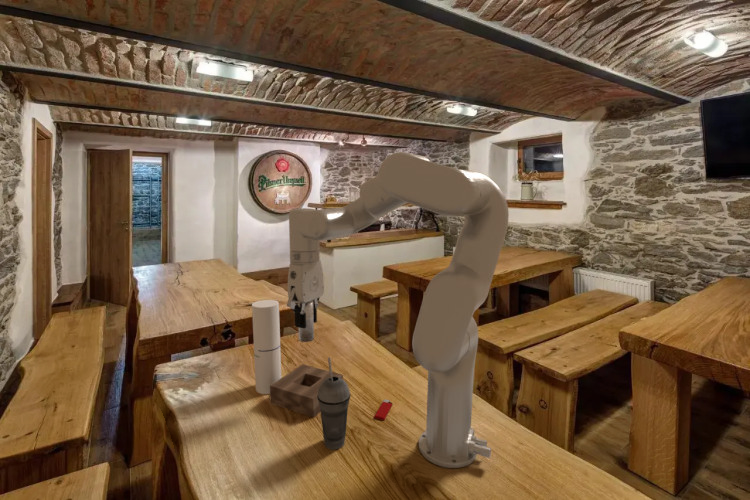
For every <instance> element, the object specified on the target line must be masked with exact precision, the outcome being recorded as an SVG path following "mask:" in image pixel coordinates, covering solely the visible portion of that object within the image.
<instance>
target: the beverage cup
mask: <svg viewBox="0 0 750 500" xmlns="http://www.w3.org/2000/svg"><path fill="white" fill-rule="evenodd" d="M327 361H328V371H329V372H330V377H329V378H327V379H325V380H324V381H323V382H322V384H321V385H320V388H319V390H318V395H317V398H318V401H319V406H320V410H321V412H320V417H321V427H322V436H323V442H324V443H323V444H324V446H325V448H327V449H328V450H334V451H335V450H339V449H341V448H343V447H344V445H345V443H346V442H345V440H346V435H347V433H346V432H347V423H348V422H347V421H348V420H347V419H348V409H349V403H350V398H351V391H350V387H349V385H348V383H347V382H346V381H345V379H344V378H343V379H342V378H340V377H336V376H332V372H333V371H332V361H331V357H327Z"/></svg>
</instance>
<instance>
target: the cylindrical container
mask: <svg viewBox="0 0 750 500" xmlns="http://www.w3.org/2000/svg"><path fill="white" fill-rule="evenodd" d="M251 311H252V312H251V313H252V332H253V333H252V334H253V335H252V336H253V337H252V339H253V353H254V354H253V357H254V358H253V359H254V376H255V377H254V378H255V392H257V393H258V394H260V395H270V385H272V384H273V383H275V382H276V381H278V380H279V379H281V378H282V357H281V333H280V332H281V329H280V327H281V326H280V303H279V301H278V300H274V299H263V300H257V301H254V302H252V303H251Z"/></svg>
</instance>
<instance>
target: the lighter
mask: <svg viewBox="0 0 750 500" xmlns="http://www.w3.org/2000/svg"><path fill="white" fill-rule="evenodd" d="M392 406H393V403H392V402H391V400H389V399H383V401H382V402H381V404H380V405H379V406H378V409H377V411H376V412H375V414H374V416H373V419H376V420H381V421H385V419H386V418H387V416H388V414H389V412H390V410H391V408H393V407H392Z"/></svg>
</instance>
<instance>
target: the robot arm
mask: <svg viewBox="0 0 750 500" xmlns="http://www.w3.org/2000/svg"><path fill="white" fill-rule="evenodd" d="M358 191H359V198H357V199H355V200H353V201H352V202H350V203H348V204H346V205H345V206H342V207H335V208H321V209H314V208H293V209H291V210H290V211H289V213H288V226H289V227H288V229H289V234H288V235H289V262H290V263H289V267H288V273H287V274H288V275H287V298H288V299H287V302H286V307H287V308H289V309H291V310H292V313H294V326H295V328H298V327H299V328H306V313H304V310H305V303H307V302H310V301H312V300H313V312H314V324H315V323H317V322H318V313H317V311H318V309H317V308H319V301H320V298H321V297H322V296H323V295H324V293H325V283H324V271H323V265H322V264H323V263H322V262H321V259H320V257H321V255H320V242H324V241H329V240H334V239H340V238H344V237H345V238H346V237H349V236H351V235H353V234H356V233H359V232H360V231H361V230H365V229H366V228H368V227H370V226H371V225H373V224H375V223H376V222H377V221H379V220H380V219H381V217H384V216H386V215H387V214H389V213H391V212H393V211H395V210H397V209H399V208H400V207H403V206H405V205H407V204H410V205H413V206H416V207H419V208H421V209H424V210H426V211H429V212H431V213H435V214H437V215H441V216H445V217H451V218H453V217H455V218H456V217H463V216H464V222H463V225H462V227H461V230H460V232H459V235H458V237H457V241H456V243H455V248H454V251H453V253H452V254H453V255H452V258H451V260H450V263H449V265H448V266H447V267H446V268H445V269H443V270H441V271H439V272H437V273H436V274H435V275H434V276H433V277H432V278H431V280H430V281H429V283H428V285H427V286H426V289H425V291H424V294H423V298H422V301H421V305H420V309H419V313H418V316H417V319H416V324H415V327H414V331H413V334H412V342H411V343H412V344H411V345H412V346H411V347H412V352H413V355H414V358H415V360H416V362H417V363H418V364H419V365H420V366H421V367H422V368H423V369H425V371H426V370H427V371H428V372H427V395H426V396H427V397H426V398H427V399H426V402H427V403H426V427H425V428H426V430H425V431H423V432H422V433H421V434H420V436H419V439H418V448H419V452H420V453H421V455H422V456H423V457H424V458H425V459H427V460H428V462H430V463H432V464H434V465H437V466H439V467H443V468H450V469H458V468H463V467H466V466H469V465H471V464H472V463H473V462H474V461H475V460H476V458H477V455H479V456H482V457H484V458H488V459H490V458H491V455H492V448H491V447H489V446H488V440H485V439H481V438H478V437H477V436H475V429H474V428H473V427H472V413H473V412H472V411H473V394H474V378H475V377H474V376H475V374H474V373H475V367H476V366H475V364H476V356H477V351H478V345H479V344H478V343H479V328H478V325H477V322H476V320H475V318H474V317H473V316H474V313H475V311H477V310H478V309H479V307H481V306H482V305H483V304H484V303H485V302H486V299H487V298H488V295H489V293H490V292H489V291H490V288H491V285H492V281H493V278H494V274H495V271H496V269H497V265H498V263H499V260H500V259H499V257H500V254H501V251H502V248H503V245H504V240H505V238H506V234H507V231H508V224H509V206H508V202H507V198H506V196H505V194H504V193H503V191H502V189H501V188H500V187H499V186H498V184H497V183H496V182H494V181H493V180H492V179H491V178H490V177H488V176H487V175H485V174H483V173H480V172H478V171H474V170H469V169H460V168H459V169H458V168H454V167H452V166H447V165H444V164H442V163H441V164H440V163H437V162H434V161H431V160H430V159H428V157H425V156H423V155H420V154H416V153H410V152H406V151H405V152H404V151H402V152H401V151H398V152H395V153H392V154H390V155H388V156H387V157H386V158H385V159H384V160H382V162H381V163H380V165H379V167H378V171H377V175H375V176H373V177H371V178H370V179H367V180H366V181H365V182H363V183H362V184H360V188H359V190H358ZM298 304H301V305H300V307H299V306H298Z"/></svg>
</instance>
